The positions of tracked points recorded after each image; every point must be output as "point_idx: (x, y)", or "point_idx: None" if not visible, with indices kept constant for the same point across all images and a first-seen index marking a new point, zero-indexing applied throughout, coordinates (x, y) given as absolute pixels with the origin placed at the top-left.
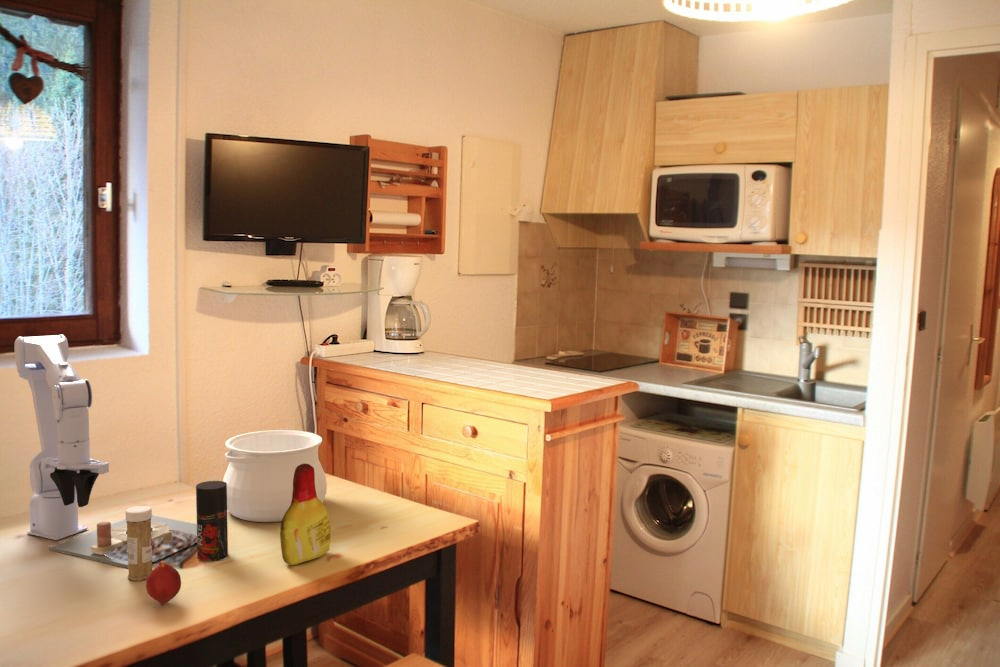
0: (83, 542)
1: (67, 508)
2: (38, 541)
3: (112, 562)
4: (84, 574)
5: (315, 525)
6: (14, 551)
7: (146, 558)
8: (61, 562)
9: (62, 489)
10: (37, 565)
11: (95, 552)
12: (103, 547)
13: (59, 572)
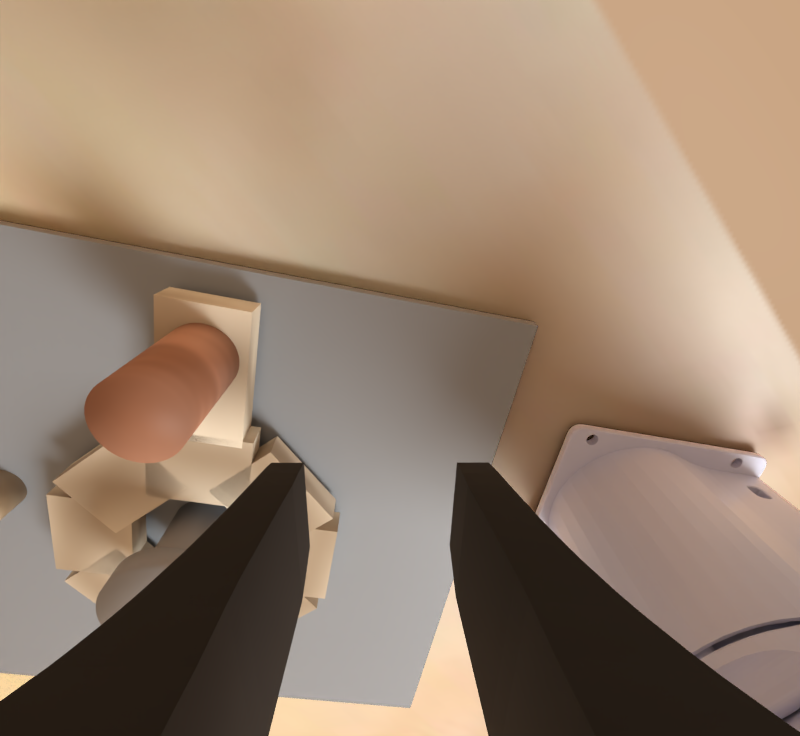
0: (414, 418)
1: (620, 593)
2: (655, 397)
3: (61, 235)
4: (80, 44)
5: None
6: (704, 256)
7: None
8: (356, 184)
9: (541, 609)
10: (455, 102)
11: (220, 297)
12: (171, 322)
13: (249, 31)
